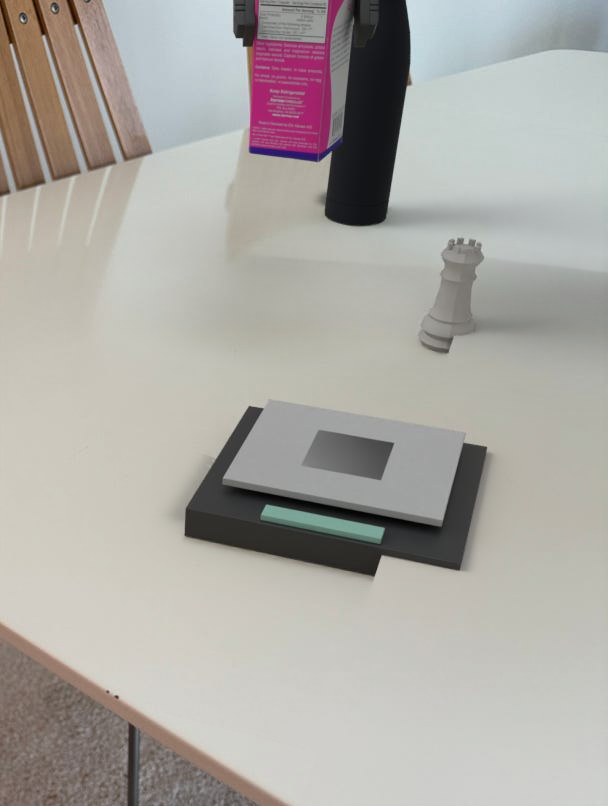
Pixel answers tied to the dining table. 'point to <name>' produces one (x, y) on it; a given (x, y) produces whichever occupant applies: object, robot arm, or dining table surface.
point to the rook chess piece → (452, 297)
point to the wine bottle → (371, 121)
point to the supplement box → (299, 77)
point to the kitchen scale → (339, 489)
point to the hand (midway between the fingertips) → (305, 39)
